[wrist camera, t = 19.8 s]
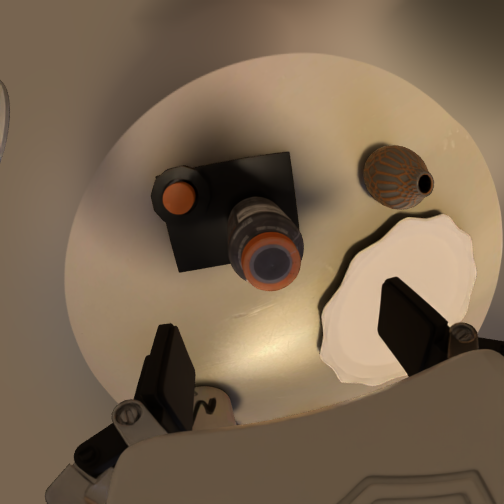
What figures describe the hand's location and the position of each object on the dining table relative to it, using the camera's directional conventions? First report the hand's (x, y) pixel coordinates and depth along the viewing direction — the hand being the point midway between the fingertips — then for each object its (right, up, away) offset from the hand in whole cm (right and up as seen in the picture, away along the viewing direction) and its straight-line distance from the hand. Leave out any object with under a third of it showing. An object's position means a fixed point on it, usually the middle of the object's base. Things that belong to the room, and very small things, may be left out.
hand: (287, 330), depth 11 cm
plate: (+22, -5, +25) cm, 33 cm away
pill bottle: (-1, +6, +18) cm, 19 cm away
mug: (-8, -22, +29) cm, 37 cm away
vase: (+14, +13, +17) cm, 26 cm away
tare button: (-8, +9, +14) cm, 19 cm away
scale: (-4, +8, +18) cm, 20 cm away
